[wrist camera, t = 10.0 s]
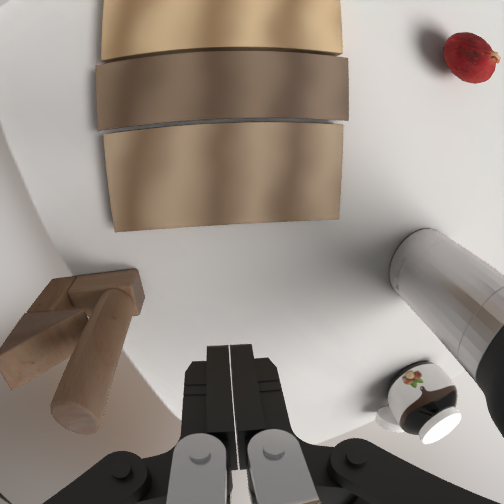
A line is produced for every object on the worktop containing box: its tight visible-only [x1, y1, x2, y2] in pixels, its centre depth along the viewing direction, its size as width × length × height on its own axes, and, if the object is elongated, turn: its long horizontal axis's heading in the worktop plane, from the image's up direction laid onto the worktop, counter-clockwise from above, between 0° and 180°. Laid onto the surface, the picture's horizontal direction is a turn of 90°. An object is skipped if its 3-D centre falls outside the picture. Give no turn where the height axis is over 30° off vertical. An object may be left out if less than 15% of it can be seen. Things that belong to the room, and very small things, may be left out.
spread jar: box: [375, 362, 461, 444], centre depth 40 cm, size 12×11×12 cm
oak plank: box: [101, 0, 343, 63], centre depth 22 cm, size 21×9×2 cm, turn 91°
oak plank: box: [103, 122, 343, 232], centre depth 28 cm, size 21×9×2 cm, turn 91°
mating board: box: [96, 51, 349, 131], centre depth 25 cm, size 22×6×2 cm, turn 91°
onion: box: [443, 32, 500, 84], centre depth 22 cm, size 6×6×8 cm
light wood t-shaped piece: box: [0, 269, 145, 435], centre depth 24 cm, size 4×11×18 cm, turn 94°
